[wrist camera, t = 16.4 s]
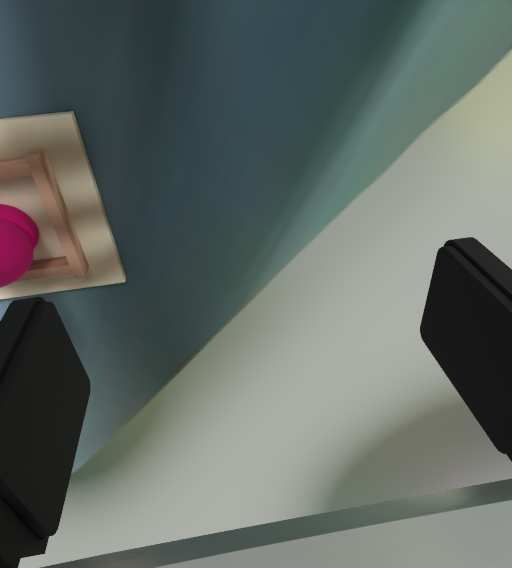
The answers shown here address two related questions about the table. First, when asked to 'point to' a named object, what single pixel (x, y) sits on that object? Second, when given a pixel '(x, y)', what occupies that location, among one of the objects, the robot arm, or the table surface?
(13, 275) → the pepper mill
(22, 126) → the board
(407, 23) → the table surface
